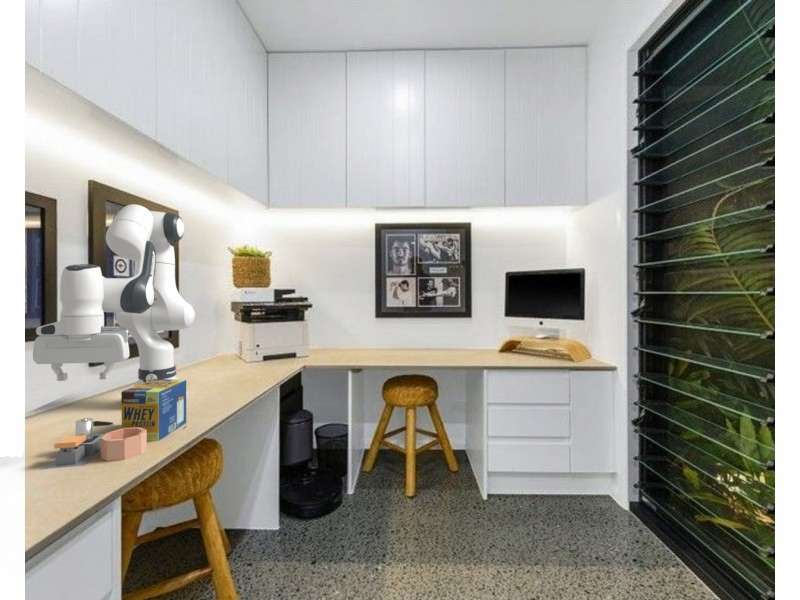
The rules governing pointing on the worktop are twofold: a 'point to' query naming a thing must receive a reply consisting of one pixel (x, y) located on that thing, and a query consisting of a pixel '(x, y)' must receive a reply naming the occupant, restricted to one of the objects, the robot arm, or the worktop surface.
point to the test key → (70, 442)
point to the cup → (123, 443)
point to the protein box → (155, 407)
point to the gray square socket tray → (77, 454)
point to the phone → (101, 423)
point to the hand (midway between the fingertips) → (83, 379)
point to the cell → (85, 429)
